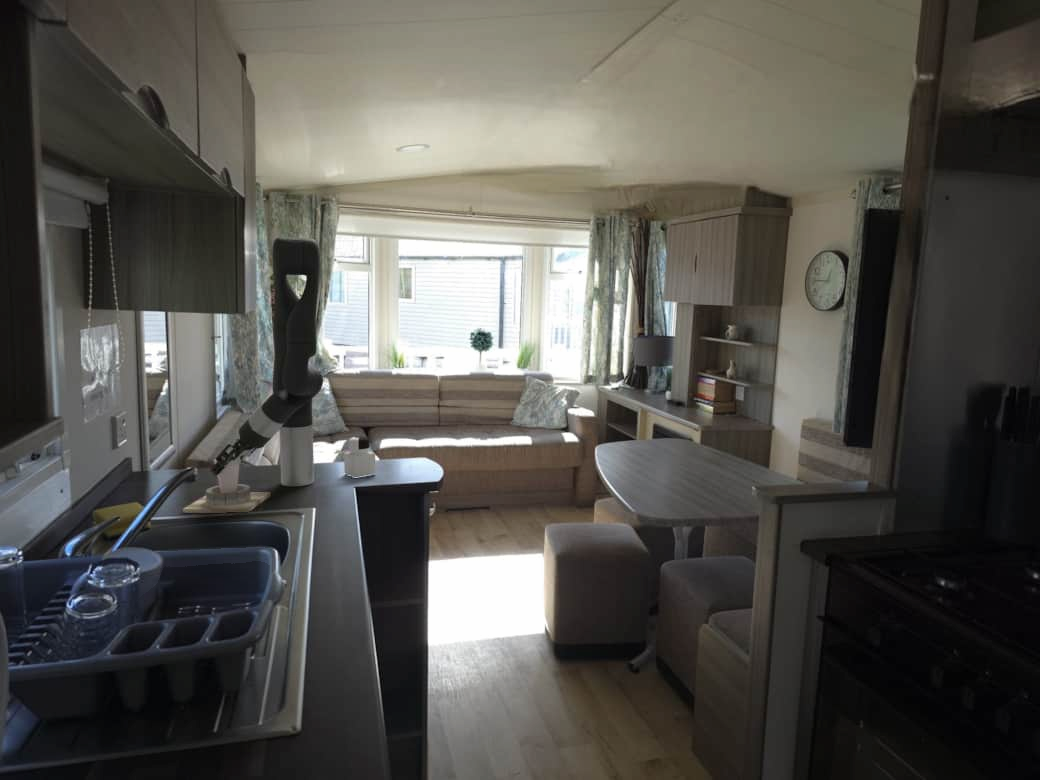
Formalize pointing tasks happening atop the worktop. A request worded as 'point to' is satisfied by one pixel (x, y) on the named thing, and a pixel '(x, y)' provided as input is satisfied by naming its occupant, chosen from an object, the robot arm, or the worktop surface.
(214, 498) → the collar stand
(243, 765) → the worktop surface
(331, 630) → the worktop surface
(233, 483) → the smoothie
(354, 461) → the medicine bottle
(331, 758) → the worktop surface
